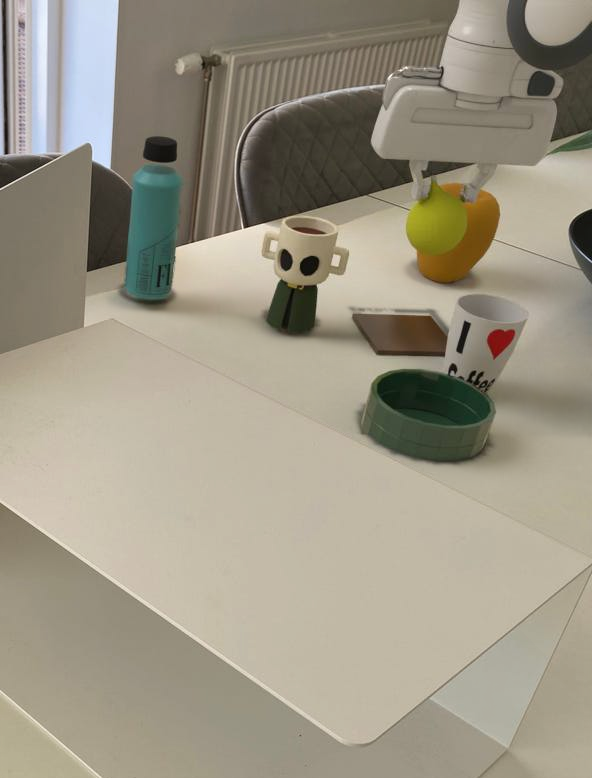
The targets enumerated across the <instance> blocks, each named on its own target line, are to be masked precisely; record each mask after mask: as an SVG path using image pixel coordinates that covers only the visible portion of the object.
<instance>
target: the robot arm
mask: <svg viewBox="0 0 592 778" xmlns="http://www.w3.org/2000/svg"><path fill="white" fill-rule="evenodd" d="M591 55H592V0H459V2H458V7H457V12H456V14H455V17H454V19H453V20H452V23H451V24H450V26H449V29H448V32H447V36H446V39H445V42H444V45H443V50H442V54H441V58H440V62H439V66H415V65H411V64H408V65H406V64H405V65H401V68H400V69H396V70H395V71H393V72H392V73H391V74H390V75H389V76H388V77H387V78H386V80H385V83H384V88H383V92H382V97H381V103H382V105H381V107H380V110H379V112H378V115H377V118H376V121H375V124H374V127H373V130H372V134H371V139H370V144H371V147H372V149H373V151H374V152H375V153H376V154H377V155H378V156H379V157H380V158H381V159H384V160H386V159H387V160H401V161H402V160H403V161H409V163H408V166H409V170H410V173H411V177H412V181H413V185H412V187H411V192H410V198H411V199H412V200H413V201H416V202H417V201H418V200H419V201H426V200H427V198H428V193H429V191H430V188H431V186H430V185H431V184H429V183H428V182H427V181H424V175H423V173H422V171H427V169H428V165H429V162H443V163H462V164H476V168H477V169H478V172H477V173H476V174H475V175H474V177H473V178H472V179H471V180H470V182H467V183H466V182H463V183H462V184H463V185H462V192H461V193H460V195H459V199H460V200H461V201H462V202H463V203H475V202H476V200H477V197H478V194H479V191H480V189H482V188H483V187H484V186H485V185H486V184H487V183H488V181H489V180H490V179H491V178H492V177H493V176H494V175H495V172H496V170H497V167H498V165H499V166H500V165H501V166H522V167H523V166H524V167H525V166H526V167H535V166H538V164H539V163H540V162H541V161H542V160H543V159H544V158H545V157H546V155H547V152H548V150H549V146H550V143H551V140H552V137H553V132H554V129H555V124H556V120H557V115H558V107H557V103H556V102H555V100H553V99H556V98H557V97H558V96H559V95H560V94H561V91H562V89H563V86H564V78H563V77H561V76H560V75H559V74H557V73H556V72H555V71H561V70H565V69H569V68H572V67H574V66H576V65H578V64H579V63H581V62H583V61H584V60H586V59H587V58H589V57H590V56H591Z"/></svg>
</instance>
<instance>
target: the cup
mask: <svg viewBox="0 0 592 778" xmlns="http://www.w3.org/2000/svg"><path fill="white" fill-rule="evenodd" d="M529 316H530V314H529V312H528V310H527V308H525V307H524V306H522V305H521V304H520V303H517V302H515V301H513V300H511V299H508V298H506V297H502V296H499V295H493V294H486V293H467V294H464V295H461V296H459V297H457V299H456V301H455V305H454V310H453V314H452V317H451V321H450V325H449V330H448V333H447V336H448V339H447V346H446V353H445V356H444V362H443V373H445V374H448V375H452V376H455V377H458V378H461V379H463V380H465V381H467V382H469V383H471V384H474V385H476V386H477V387H478V388H480V389H481V390H483V391H484V392H486V393H487V394H488V393H489V391H490V389H491V388H492V387H493V386H494V384H495V383H496V382H497V380H498V379H499V378H500V376H501V374H502V372H503V371H504V369H505V367H506V365H507V363H508V362H509V360H510V358H511V356H512V355H513V353H514V351H515V349H516V346H517V344H518V342H519V340H520V338H521V335H522V333H523V330H524V328H525V325H526V324H527V321H528V318H529Z"/></svg>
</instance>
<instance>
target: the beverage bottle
mask: <svg viewBox="0 0 592 778" xmlns="http://www.w3.org/2000/svg"><path fill="white" fill-rule="evenodd" d="M142 157H143V158H144V159H145V160H146V161H149V162H153V163H154V164H153V163H152V164H151V163H150V164H146V165H144V166H142V167H141V168H139V169H138V170H137V171H136V172H135V173H134V174H133V176H132V188H131V189H132V191H131V202H130V203H131V204H130V205H131V206H130V215H129V216H130V217H129V227H128V230H127V231H128V233H127V234H126V235H127V239H126V242H127V245H125V246H126V247H125V248H126V249H125V250H126V252H125V253H126V256H125V259H124V260H125V267H124V274H125V275H123V277H124V279H123V285H124V287H125V291H126V292H127V294H129V295H130V296H132V297H135V298H137V299H142V300H152V301H155V300H162V299H165V298H168V297H169V296H170V294H171V291H172V290H173V283H174V281H173V280H174V275H175V272H174V271H175V270H176V265H175V263H176V262H177V261H176V260H177V259H176V258H177V257H176V255H177V253H176V252H177V241H178V230H179V229H180V217H181V209H182V208H181V200H182V189H183V185H184V180H183V178H182V176H181V175H180V174H179V172H178V171H177V170H176V168H173V167H172V166H168V165H164V164H168V163H174V162H176V161H177V159H178V142H177V140H176V139H174V138H171V137H169V136H168V137H167V136H160V135H156V136H149V137H147V138H145V141H144V147H143V151H142ZM157 163H159V164H157ZM160 163H161V164H160Z"/></svg>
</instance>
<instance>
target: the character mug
mask: <svg viewBox="0 0 592 778" xmlns="http://www.w3.org/2000/svg"><path fill="white" fill-rule="evenodd" d="M338 235H339V226H338V225H336V224H335V223H334V222H332V221H331V220H330V221H329V220H328V219H324V218H320V217H317V216H311V215H292V216H286V217H285V218H283V219H282V222H281V224H280V229H279V232H275V231H271V230H268V231H265V233H264V236H263V241H262V246H261V256H262V257H263V258H265V259H269V260H273V265H272V266H273V271H274V274H275V275H276V277H278V278H279V281H278V282H277V284H276V288H275V290H274V294H273V297H272V298H271V302H270V306H269V309H268V312H267V317H266V322H267V324H268V325H269V326H270V327H272V328H274V329H276V330H277V331H281V329H282V326H283V325H284V326H287V329H286V332H287V333H290V334H303V333H309V332H310V331H311V330H312V329H314V327H315V323H316V317H317V316H316V315H317V306H318V305H317V303H318V295H319V294H318V293H319V289H318V285H320V284H322V283H324V282H325V281H327V279H328V277H329V276H330V274H331V275H336V276H344V275H345V273H346V269H347V266H348V261H349V257H350V250H349V249H347V248H345V247H341V246H336V244H337V240H338V237H339V236H338ZM272 241H275V242H277V245H276V249H275V251H272V250H270V248H271V243H272ZM334 255H336V256H340V258H339V262H338V266H335V265H332V263H333V258H334Z"/></svg>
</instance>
